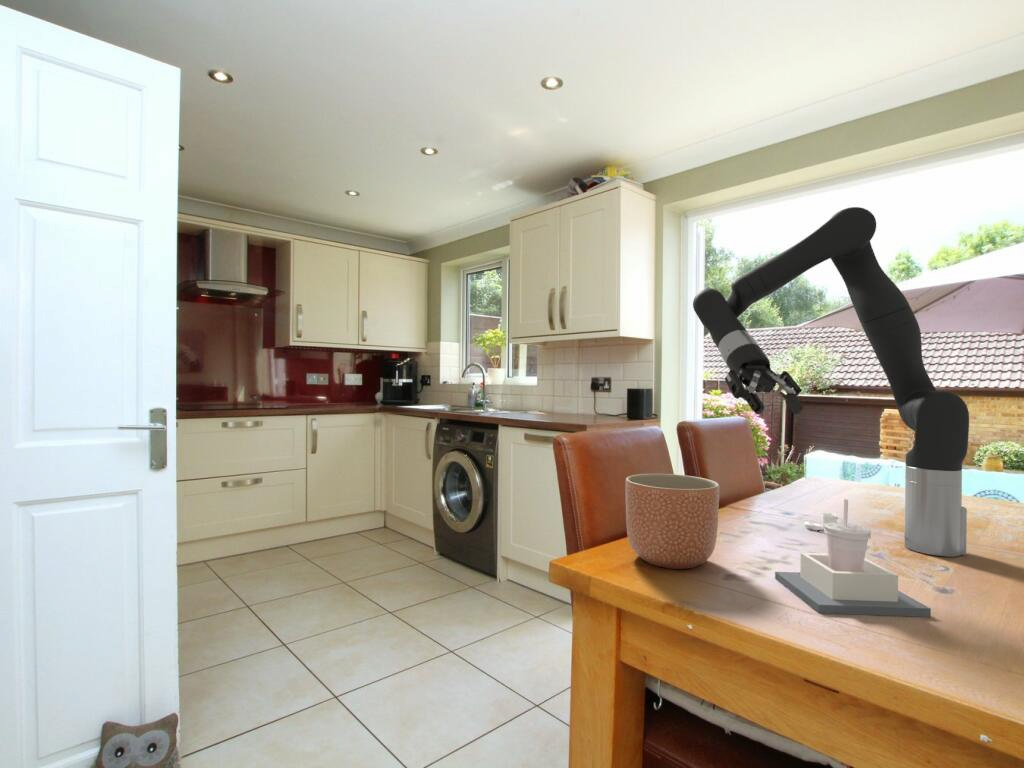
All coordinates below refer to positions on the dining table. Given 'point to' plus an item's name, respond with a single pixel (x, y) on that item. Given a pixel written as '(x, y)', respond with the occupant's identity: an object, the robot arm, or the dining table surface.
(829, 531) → the smoothie
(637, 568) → the dining table surface
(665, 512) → the planter
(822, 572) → the socket board
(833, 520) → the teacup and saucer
